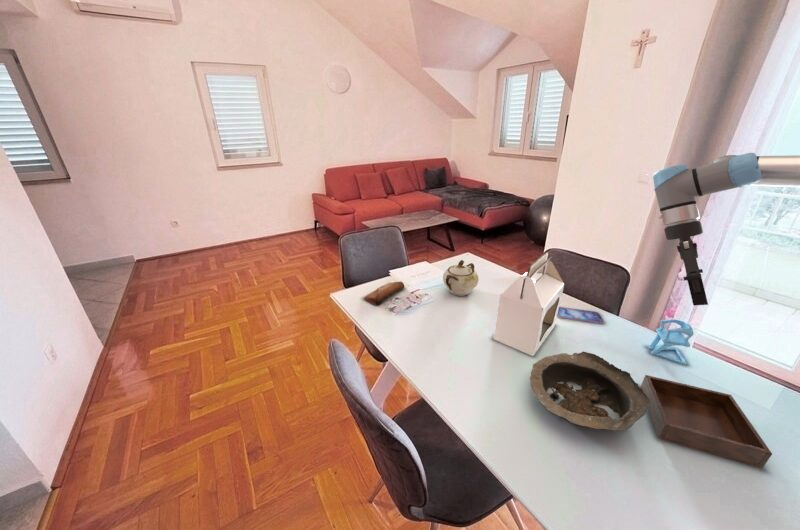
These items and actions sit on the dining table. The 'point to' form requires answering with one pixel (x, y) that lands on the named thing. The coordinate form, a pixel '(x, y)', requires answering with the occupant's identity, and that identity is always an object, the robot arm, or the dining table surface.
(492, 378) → the dining table surface
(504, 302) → the gable box
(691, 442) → the wooden tray
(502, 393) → the dining table surface
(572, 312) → the smartphone
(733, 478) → the dining table surface
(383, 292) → the sunglasses case
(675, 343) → the chair
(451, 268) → the sugar bowl
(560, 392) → the stone bowl
